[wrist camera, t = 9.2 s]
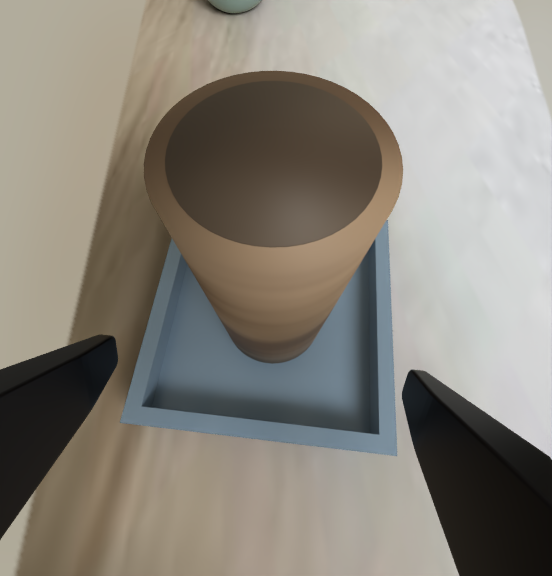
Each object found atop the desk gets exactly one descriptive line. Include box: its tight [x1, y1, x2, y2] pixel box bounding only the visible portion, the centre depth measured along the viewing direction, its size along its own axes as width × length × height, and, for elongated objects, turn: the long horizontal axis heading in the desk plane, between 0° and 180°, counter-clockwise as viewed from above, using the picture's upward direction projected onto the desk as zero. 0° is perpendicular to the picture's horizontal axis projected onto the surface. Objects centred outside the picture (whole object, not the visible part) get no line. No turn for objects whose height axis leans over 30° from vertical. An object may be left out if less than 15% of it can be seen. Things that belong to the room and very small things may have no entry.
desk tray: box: [120, 220, 397, 456], centre depth 17 cm, size 13×13×2 cm
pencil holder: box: [144, 71, 403, 364], centre depth 12 cm, size 6×6×12 cm
